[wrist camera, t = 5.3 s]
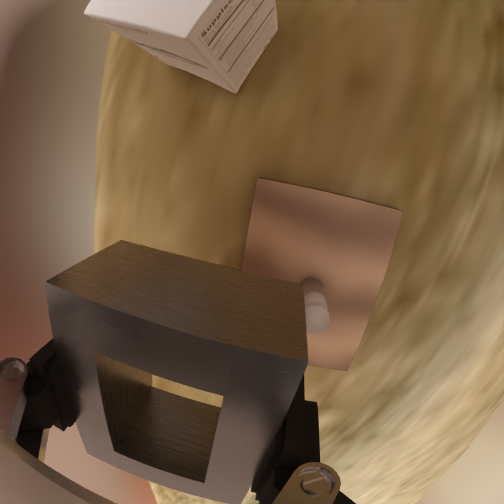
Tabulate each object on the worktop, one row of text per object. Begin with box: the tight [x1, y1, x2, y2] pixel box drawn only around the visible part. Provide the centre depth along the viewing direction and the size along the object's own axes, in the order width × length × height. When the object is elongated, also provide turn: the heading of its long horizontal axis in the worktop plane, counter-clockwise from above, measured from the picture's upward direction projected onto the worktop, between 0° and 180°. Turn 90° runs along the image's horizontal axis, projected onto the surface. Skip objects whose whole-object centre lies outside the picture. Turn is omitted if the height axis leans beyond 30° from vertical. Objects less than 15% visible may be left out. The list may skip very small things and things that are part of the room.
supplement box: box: [84, 0, 278, 94], centre depth 14 cm, size 7×7×13 cm
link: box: [45, 240, 308, 504], centre depth 9 cm, size 8×6×4 cm
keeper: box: [241, 178, 403, 371], centre depth 22 cm, size 16×12×6 cm
